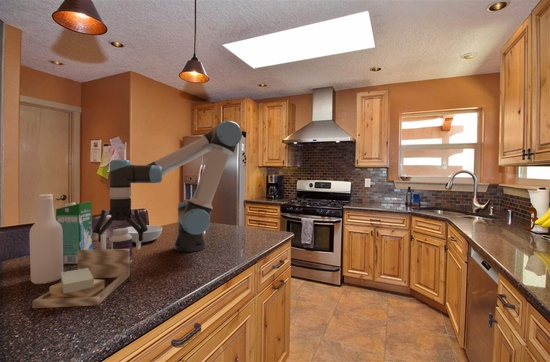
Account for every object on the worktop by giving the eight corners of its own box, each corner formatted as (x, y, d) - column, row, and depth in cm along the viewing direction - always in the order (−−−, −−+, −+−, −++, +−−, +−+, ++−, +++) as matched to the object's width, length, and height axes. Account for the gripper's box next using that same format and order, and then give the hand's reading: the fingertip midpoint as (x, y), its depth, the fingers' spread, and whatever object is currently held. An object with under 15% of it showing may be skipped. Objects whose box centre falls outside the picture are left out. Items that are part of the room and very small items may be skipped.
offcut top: (93, 286, 79) (93, 278, 79) (63, 293, 75) (63, 284, 75) (88, 275, 88) (88, 267, 88) (60, 280, 84) (60, 272, 84)
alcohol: (46, 274, 99) (44, 193, 98) (69, 274, 99) (67, 193, 98) (23, 284, 90) (20, 195, 89) (49, 284, 90) (47, 195, 89)
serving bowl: (151, 246, 137) (151, 233, 137) (111, 246, 137) (111, 232, 137) (168, 236, 158) (168, 225, 158) (133, 236, 158) (133, 224, 158)
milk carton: (71, 257, 119) (70, 201, 118) (92, 256, 120) (92, 201, 119) (56, 264, 110) (55, 203, 109) (79, 263, 111) (78, 203, 110)
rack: (129, 275, 99) (129, 248, 98) (97, 305, 77) (97, 270, 77) (80, 277, 97) (79, 249, 96) (32, 308, 75) (31, 272, 75)
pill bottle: (136, 262, 113) (136, 228, 113) (120, 268, 106) (119, 232, 105) (122, 260, 116) (121, 226, 115) (104, 266, 108) (104, 230, 108)
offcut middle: (104, 287, 85) (104, 280, 85) (86, 298, 78) (85, 289, 78) (70, 285, 86) (70, 277, 86) (49, 295, 79) (49, 286, 79)
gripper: (155, 196, 115) (155, 246, 116) (92, 197, 112) (93, 247, 113) (149, 198, 107) (149, 251, 108) (82, 198, 105) (83, 252, 105)
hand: (121, 249), depth 110 cm, fingers open, 13 cm apart
